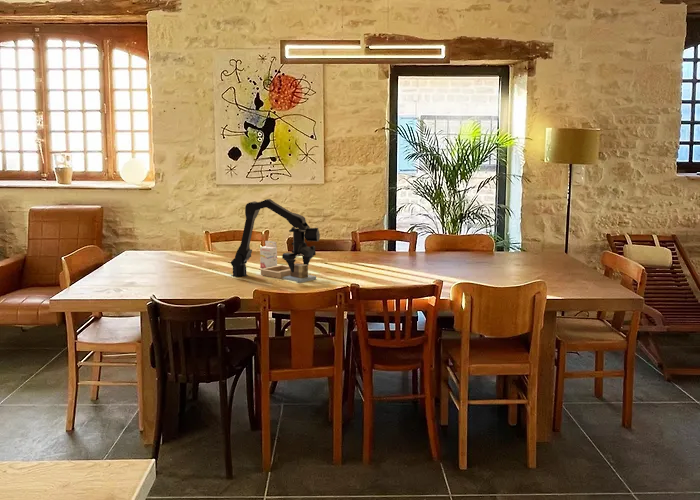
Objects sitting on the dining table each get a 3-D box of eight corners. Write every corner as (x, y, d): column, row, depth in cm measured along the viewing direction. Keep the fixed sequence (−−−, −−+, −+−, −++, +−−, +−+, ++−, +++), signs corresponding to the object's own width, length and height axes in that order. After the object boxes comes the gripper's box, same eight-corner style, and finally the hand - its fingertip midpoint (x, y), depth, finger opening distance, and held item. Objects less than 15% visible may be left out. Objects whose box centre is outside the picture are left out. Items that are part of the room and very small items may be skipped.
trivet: (299, 282, 373) (299, 279, 372) (282, 279, 380) (282, 276, 380) (316, 279, 381) (316, 276, 381) (299, 276, 389) (299, 273, 389)
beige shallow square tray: (279, 279, 380) (278, 272, 380) (259, 275, 390) (259, 268, 390) (301, 274, 393) (301, 267, 392) (282, 271, 402) (281, 264, 402)
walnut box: (301, 278, 376) (301, 266, 375) (290, 276, 382) (290, 264, 381) (308, 276, 380) (307, 264, 379) (296, 274, 385) (296, 263, 384)
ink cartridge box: (259, 268, 412) (259, 241, 410) (265, 266, 416) (264, 240, 414) (272, 269, 407) (271, 242, 405) (277, 268, 412) (277, 241, 409)
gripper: (297, 244, 365) (297, 275, 368) (323, 240, 379) (323, 270, 382) (281, 242, 373) (281, 273, 375) (307, 238, 387) (307, 267, 389)
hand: (299, 271), depth 380 cm, fingers open, 9 cm apart
